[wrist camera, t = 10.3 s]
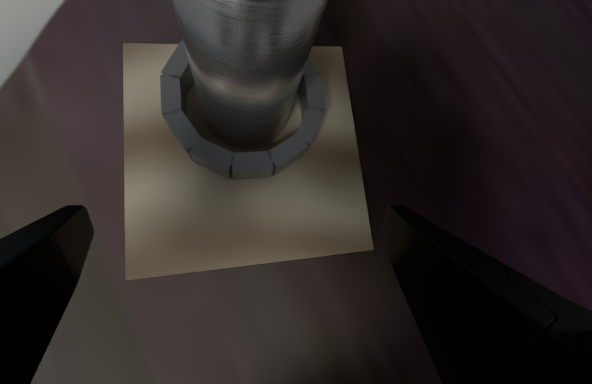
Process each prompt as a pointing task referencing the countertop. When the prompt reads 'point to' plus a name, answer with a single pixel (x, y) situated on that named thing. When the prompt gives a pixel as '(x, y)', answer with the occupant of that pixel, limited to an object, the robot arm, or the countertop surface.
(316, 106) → the collar
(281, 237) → the duct board
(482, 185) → the countertop surface
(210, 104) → the metal canister
